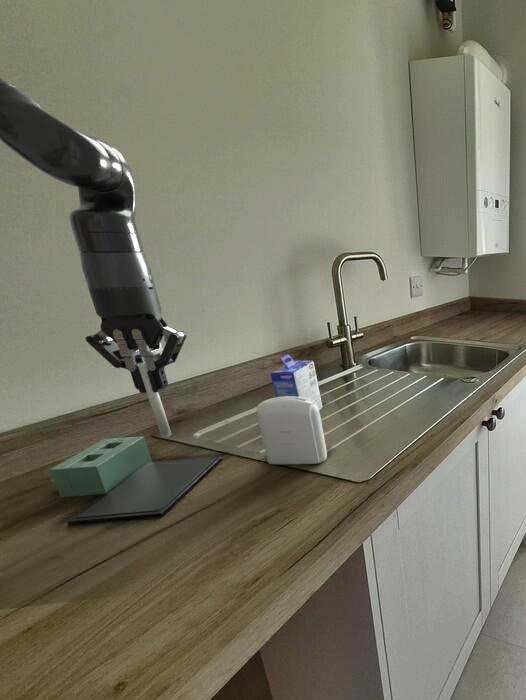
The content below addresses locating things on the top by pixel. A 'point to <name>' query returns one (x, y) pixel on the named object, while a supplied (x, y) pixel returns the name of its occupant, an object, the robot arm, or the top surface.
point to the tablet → (147, 491)
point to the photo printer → (291, 430)
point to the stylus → (155, 403)
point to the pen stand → (100, 466)
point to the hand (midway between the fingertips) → (153, 390)
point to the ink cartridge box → (296, 380)
